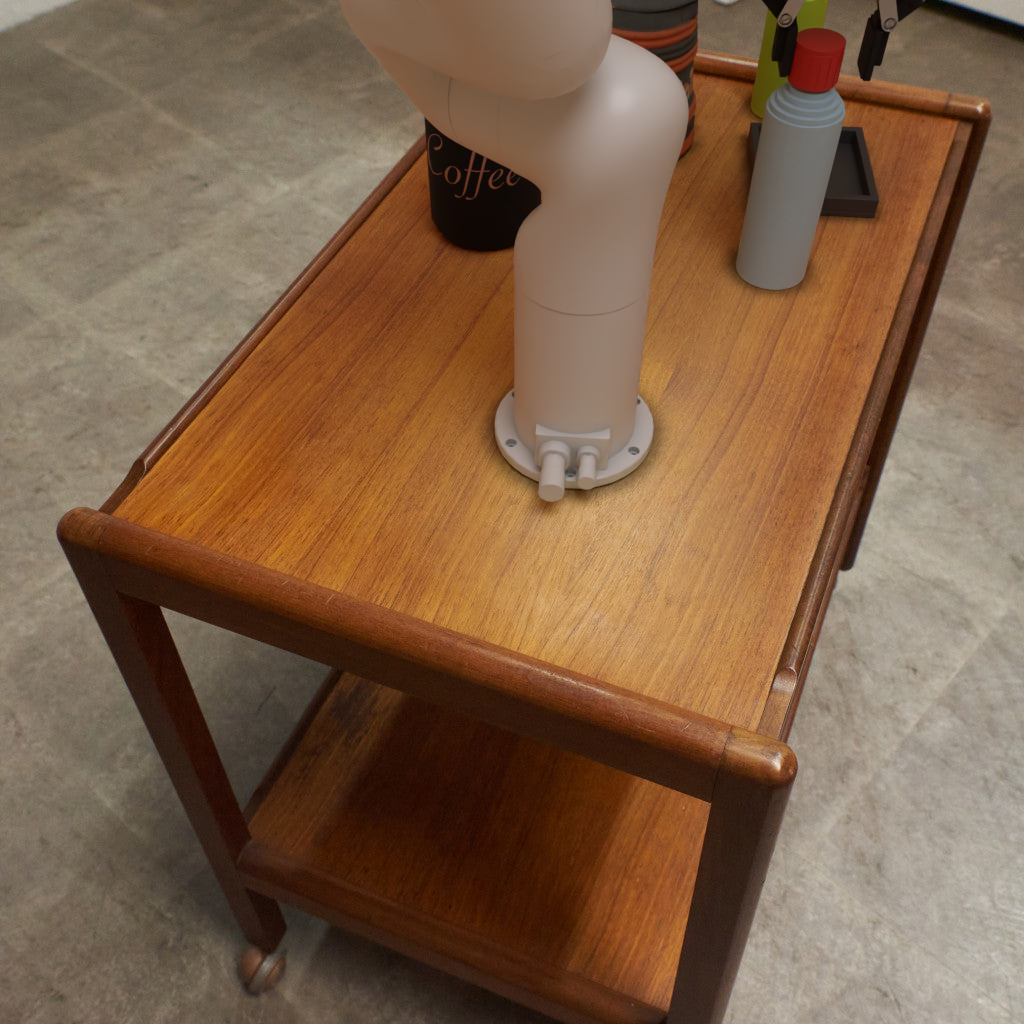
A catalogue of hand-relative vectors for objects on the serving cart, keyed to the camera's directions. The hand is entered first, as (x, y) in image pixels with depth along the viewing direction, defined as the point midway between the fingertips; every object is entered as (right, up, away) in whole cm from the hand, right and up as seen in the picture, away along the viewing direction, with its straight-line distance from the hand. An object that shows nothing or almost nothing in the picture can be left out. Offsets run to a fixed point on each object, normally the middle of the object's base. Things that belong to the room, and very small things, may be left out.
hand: (823, 69), depth 85 cm
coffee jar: (-28, -7, +19) cm, 34 cm away
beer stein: (-15, +5, +30) cm, 34 cm away
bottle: (-1, -13, +14) cm, 19 cm away
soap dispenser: (+5, +9, +33) cm, 35 cm away
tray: (+5, -1, +24) cm, 24 cm away
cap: (-1, -1, 0) cm, 1 cm away
